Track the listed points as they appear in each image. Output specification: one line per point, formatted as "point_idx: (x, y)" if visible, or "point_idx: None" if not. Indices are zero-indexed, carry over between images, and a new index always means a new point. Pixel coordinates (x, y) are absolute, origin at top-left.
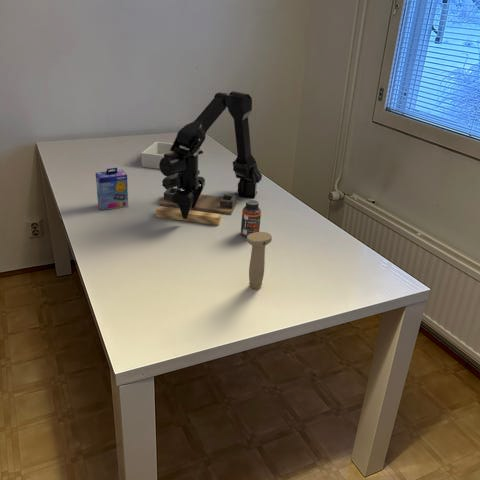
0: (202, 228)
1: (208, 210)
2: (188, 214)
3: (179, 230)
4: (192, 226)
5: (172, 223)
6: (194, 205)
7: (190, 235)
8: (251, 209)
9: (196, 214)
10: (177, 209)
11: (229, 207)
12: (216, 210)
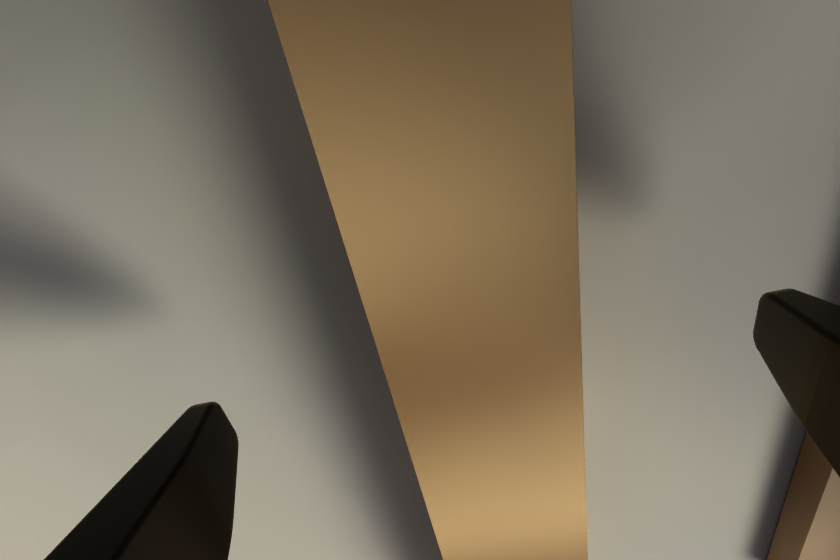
0: (297, 520)
1: None
2: (398, 410)
3: (19, 368)
4: (267, 431)
5: (126, 150)
6: (789, 392)
7: (37, 511)
8: None
9: (446, 510)
10: (502, 122)
11: None
12: (817, 488)
